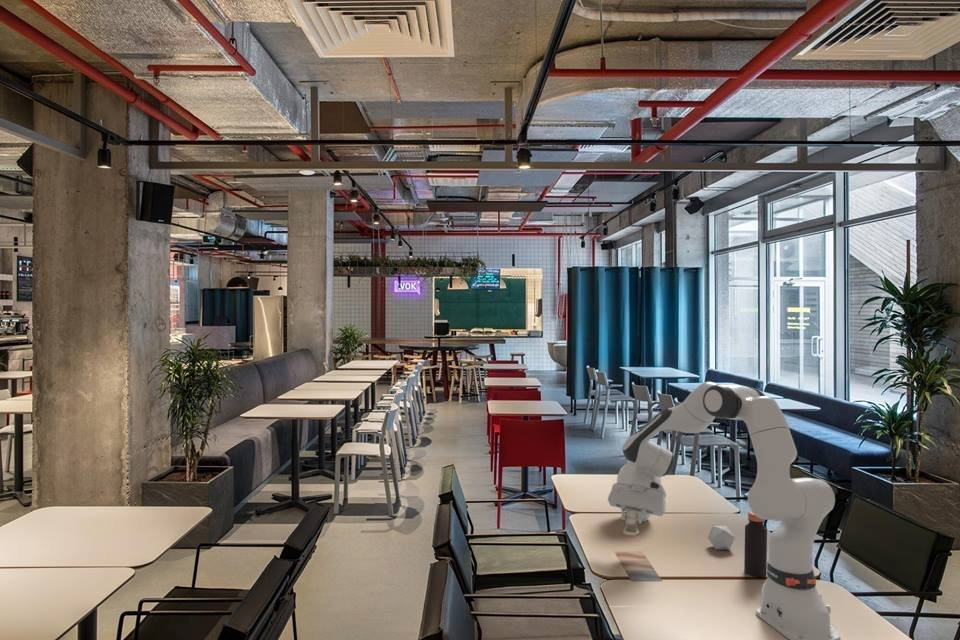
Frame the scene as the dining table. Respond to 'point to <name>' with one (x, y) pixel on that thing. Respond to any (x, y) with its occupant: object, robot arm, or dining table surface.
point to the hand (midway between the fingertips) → (630, 520)
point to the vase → (625, 477)
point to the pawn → (631, 523)
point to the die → (721, 537)
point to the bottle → (755, 546)
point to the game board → (637, 566)
